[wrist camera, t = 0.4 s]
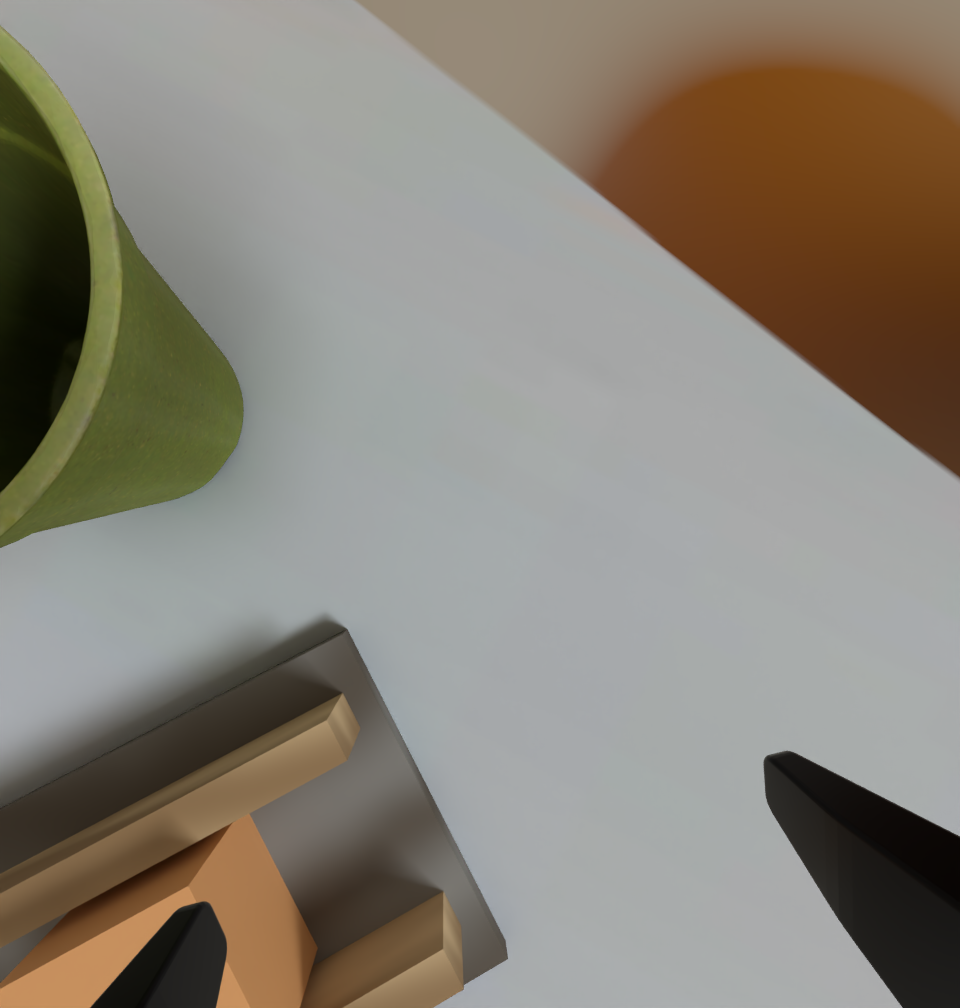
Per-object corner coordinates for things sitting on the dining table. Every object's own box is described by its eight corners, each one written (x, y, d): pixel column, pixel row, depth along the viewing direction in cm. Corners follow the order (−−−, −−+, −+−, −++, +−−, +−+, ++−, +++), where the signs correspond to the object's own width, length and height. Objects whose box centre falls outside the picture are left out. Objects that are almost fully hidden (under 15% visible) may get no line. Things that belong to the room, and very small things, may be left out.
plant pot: (-71, 369, 19) (-861, 140, 7) (200, 214, 19) (-133, -201, 8) (101, 626, 19) (-416, 787, 7) (362, 460, 20) (251, 382, 8)
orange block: (317, 947, 18) (281, 1068, 14) (167, 1033, 18) (85, 1184, 14) (245, 805, 18) (188, 886, 14) (92, 887, 18) (-12, 995, 14)
